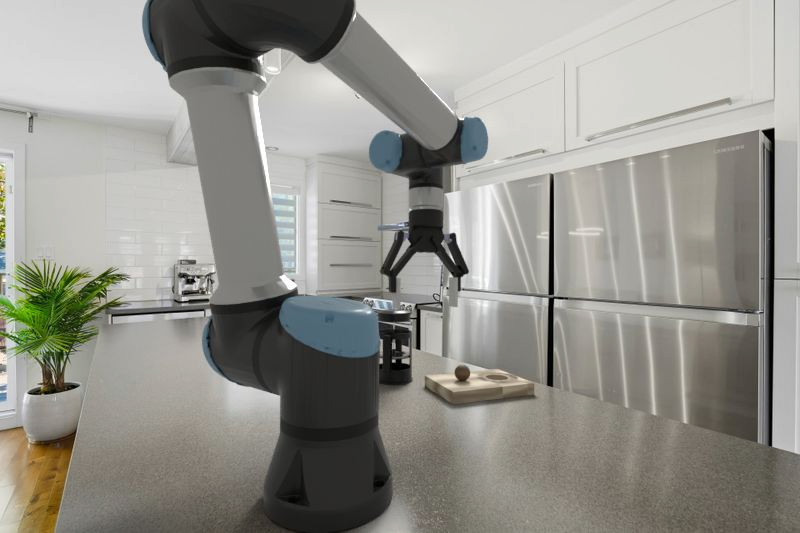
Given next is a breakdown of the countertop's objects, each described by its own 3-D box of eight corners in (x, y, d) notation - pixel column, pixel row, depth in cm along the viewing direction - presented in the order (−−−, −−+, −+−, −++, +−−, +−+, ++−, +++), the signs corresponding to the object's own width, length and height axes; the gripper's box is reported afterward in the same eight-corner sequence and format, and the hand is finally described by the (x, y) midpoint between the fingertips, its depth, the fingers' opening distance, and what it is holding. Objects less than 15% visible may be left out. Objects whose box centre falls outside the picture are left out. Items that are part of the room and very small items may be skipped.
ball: (473, 381, 91) (473, 366, 91) (459, 383, 90) (459, 367, 90) (465, 378, 94) (465, 362, 94) (451, 379, 93) (451, 363, 93)
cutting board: (534, 394, 90) (534, 383, 91) (453, 404, 83) (453, 391, 83) (497, 378, 104) (497, 368, 104) (424, 386, 97) (424, 375, 97)
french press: (382, 373, 109) (382, 285, 109) (417, 375, 106) (417, 286, 106) (366, 385, 97) (367, 287, 98) (405, 388, 95) (405, 288, 95)
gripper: (466, 215, 98) (466, 304, 98) (365, 209, 89) (365, 307, 89) (484, 210, 91) (484, 307, 91) (376, 203, 82) (376, 311, 82)
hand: (425, 307), depth 90 cm, fingers open, 13 cm apart
